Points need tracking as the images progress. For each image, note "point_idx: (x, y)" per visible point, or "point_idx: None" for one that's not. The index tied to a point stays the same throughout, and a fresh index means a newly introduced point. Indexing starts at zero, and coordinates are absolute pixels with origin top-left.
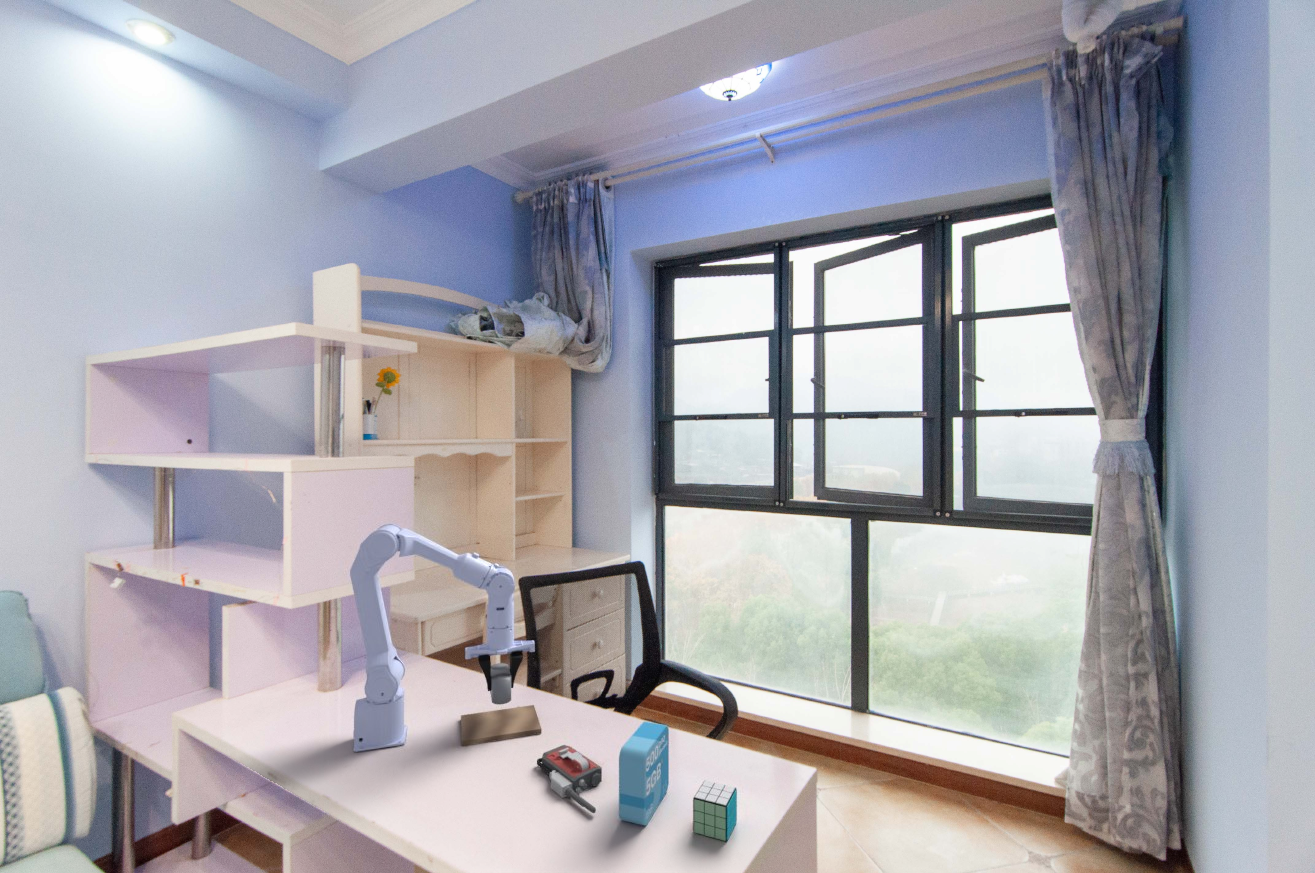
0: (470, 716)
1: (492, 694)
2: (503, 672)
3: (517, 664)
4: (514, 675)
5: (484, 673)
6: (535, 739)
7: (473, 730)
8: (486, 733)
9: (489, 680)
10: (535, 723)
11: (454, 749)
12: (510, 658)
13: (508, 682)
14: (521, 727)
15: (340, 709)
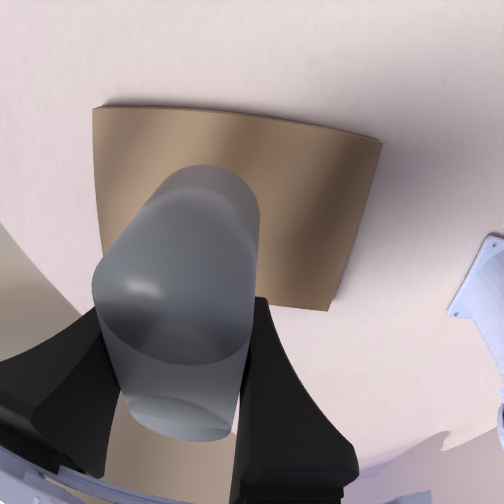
0: (304, 294)
1: (257, 233)
2: (153, 363)
3: (30, 360)
4: (89, 316)
5: (300, 383)
6: (125, 70)
7: (325, 199)
8: (288, 152)
9: (260, 337)
10: (106, 154)
11: (402, 130)
12: (89, 435)
13: (123, 233)
14: (154, 143)
15: (469, 394)
